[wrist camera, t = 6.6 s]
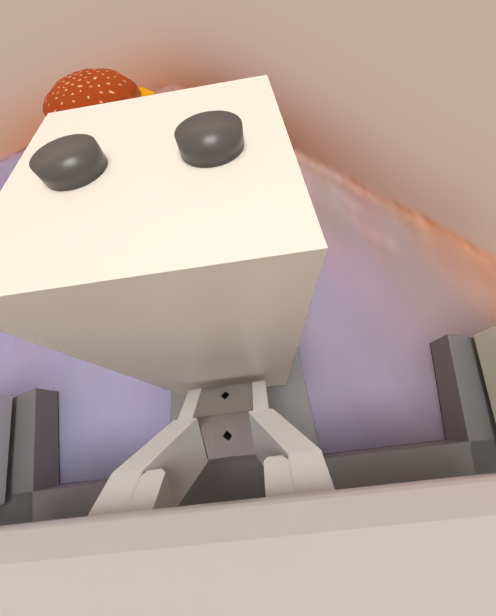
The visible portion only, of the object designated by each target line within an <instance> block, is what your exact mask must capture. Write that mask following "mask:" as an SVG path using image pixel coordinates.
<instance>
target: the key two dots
mask: <svg viewBox="0 0 496 616" xmlns="http://www.w3.org/2000/svg"><path fill="white" fill-rule="evenodd" d="M327 249H328V248H327V245H326V242H325V239H324V236H323V233H322V230H321V228H320V225H319V222H318V219H317V216H316V213H315V211H314V208H313V205H312V202H311V199H310V196H309V193H308V191H307V188H306V185H305V182H304V179H303V176H302V173H301V171H300V168H299V165H298V162H297V159H296V156H295V154H294V151H293V148H292V145H291V142H290V139H289V137H288V134H287V131H286V128H285V126H284V122H283V120H282V117H281V114H280V111H279V108H278V105H277V103H276V99H275V97H274V94H273V91H272V88H271V85H270V82H269V80H268V77H267V75H263V76H258V77H252V78H246V79H241V80H235V81H229V82H223V83H218V84H212V85H207V86H201V87H195V88H189V89H183V90H178V91H172V92H166V93H160V94H155V95H149V96H143V97H138V98H132V99H126V100H121V101H115V102H109V103H104V104H98V105H92V106H86V107H81V108H75V109H69V110H64V111H58V112H52V113H48V114H47V116H46V117H45V119H44V121H43V122H42V124H41V126H40V127H39V129H38V131H37V132H36V134H35V135H34V137H33V139H32V140H31V142H30V144H29V145H28V147H27V149H26V150H25V152H24V154H23V155H22V157H21V158H20V160H19V162H18V163H17V165H16V167H15V168H14V170H13V172H12V173H11V175H10V177H9V178H8V180H7V182H6V183H5V185H4V186H3V188H2V190H1V191H0V331H2V332H5V333H8V334H10V335H13V336H16V337H19V338H22V339H25V340H28V341H30V342H33V343H36V344H39V345H42V346H45V347H48V348H50V349H53V350H56V351H59V352H62V353H65V354H67V355H70V356H73V357H76V358H79V359H82V360H85V361H87V362H90V363H93V364H96V365H99V366H102V367H104V368H107V369H110V370H113V371H116V372H119V373H122V374H124V375H127V376H130V377H133V378H136V379H139V380H142V381H144V382H147V383H150V384H153V385H156V386H159V387H161V388H164V389H167V390H170V391H173V392H176V393H179V394H181V395H184V396H187V393H188V391H189V390H190V389H197V388H206V387H215V386H225V385H235V384H242V383H249V382H254V381H260V380H265V382H266V387H270V386H278V385H286V382H287V379H288V376H289V372H290V369H291V366H292V363H293V359H294V356H295V353H296V350H297V346H298V343H299V340H300V337H301V333H302V330H303V327H304V323H305V320H306V317H307V314H308V310H309V307H310V304H311V301H312V297H313V294H314V291H315V288H316V284H317V281H318V278H319V275H320V271H321V268H322V265H323V262H324V258H325V255H326V252H327Z"/></svg>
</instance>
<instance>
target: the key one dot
mask: <svg viewBox="0 0 496 616" xmlns="http://www.w3.org/2000/svg"><path fill="white" fill-rule="evenodd" d="M473 336H474V340H475V344H476V348H477V352H478V355H479V359H480V363H481V367H482V371H483V375H484V379H485V383H486V387H487V391H488V395H489V399H490V403H491V407H492V411H493V415H494V419H495V423H496V325H494V326H492V327H490V328H488V329H486V330H483V331H481V332H479V333H477V334H475V335H473Z"/></svg>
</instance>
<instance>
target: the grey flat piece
mask: <svg viewBox="0 0 496 616" xmlns="http://www.w3.org/2000/svg"><path fill="white" fill-rule="evenodd" d="M430 344H431V350H432V357H433V363H434V369H435V375H436V381H437V387H438V393H439V399H440V406H441V412H442V418H443V424H444V430H445V436H446V440H441V441H432V442H424V443H415V444H406V445H398V446H389V447H380V448H372V449H363V450H354V451H346V452H337V453H328V454H323V457H324V460H325V463H326V465H327V468H328V471H329V474H330V477H331V480H332V483H333V485H334V488H335V490H338V489H348V488H357V487H366V486H376V485H385V484H394V483H404V482H413V481H422V480H432V479H441V478H450V477H460V476H469V475H479V474H488V473H496V423H495V419H494V415H493V411H492V407H491V403H490V399H489V395H488V391H487V387H486V383H485V379H484V375H483V371H482V367H481V363H480V359H479V355H478V352H477V348H476V344H475V340H474V338H473V337H465V336H457V335H449V334H447V335H445V336H443V337H441V338H439V339H437V340H436V341H434V342H432V343H430ZM266 389H267V396H268V404H269V409H272V408H273V409H274V410H275V411H276V412H278V413H279V414H280V415H281V416H282V417H283V418H285V419H286V420H287V421H288V422H289V423H290V424H292V425H293V426H294V427H295V428H296V429H297V430H299V431H300V432H301V433H302V434H303V435H304V436H306V437H307V438H308V439H309V440H310V441H311V442H313V443H314V444H315V445H316V446H317V447H318V448H319V446H318V442H317V437H316V432H315V428H314V423H313V418H312V414H311V409H310V404H309V400H308V395H307V390H306V386H305V381H304V376H303V372H302V367H301V362H300V358H299V353H298V348H297V350H296V353H295V356H294V359H293V363H292V366H291V369H290V372H289V376H288V379H287V382H286V385H278V386H270V387H266ZM185 398H186V396H184V395H181V394H179V393H176V392H173V391H172V396H171V418H170V423H171V422H172V421H173V420H177V419H178V417H179V414H180V411H181V409H182V406H183V404H184V401H185ZM107 481H108V479H103V480H95V481H86V482H77V483H69V484H60V485H59V435H58V392H55V391H49V390H43V389H37V388H36V389H33V390H31V391H28V392H26V393H24V394H21V395H19V396H17V397H14V398H12V412H11V425H10V438H9V452H8V465H7V479H6V492H5V503H3V504H1V505H0V525H10V524H19V523H28V522H38V521H47V520H56V519H66V518H75V517H85V516H88V514H89V512H90V511H91V509H92V507H93V505H94V504H95V502H96V500H97V498H98V497H99V495H100V493H101V491H102V490H103V488H104V486H105V484H106V483H107ZM263 497H266V496H265V478H264V467H263V465H262V464H261V462H260V461H259V459H258V458H257V456H256V454H254V455H242V456H231V457H224V458H217V459H210V460H208V462H207V464H206V465H205V467H204V468H203V470H202V471H201V473H200V474H199V476H198V477H197V479H196V480H195V482H194V483H193V484H192V486H191V487H190V489H189V490H188V492H187V493H186V495H185V496H184V498H183V499H182V501H181V502H180V504H179V505H178V506H188V505H197V504H206V503H216V502H225V501H234V500H244V499H253V498H263Z"/></svg>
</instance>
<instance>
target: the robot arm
mask: <svg viewBox="0 0 496 616" xmlns="http://www.w3.org/2000/svg"><path fill="white" fill-rule="evenodd" d="M254 454H256V456H257V458H258V459H259V461H260V462H261V464H262V465H263V467H264V478H265V496H266V497H263V498H253V499H244V500H234V501H225V502H216V503H206V504H197V505H188V506H178V505H179V504H180V502H181V501H182V499H183V498H184V496H185V495H186V493H187V492H188V490H189V489H190V487H191V486H192V484H193V483H194V482H195V480H196V479H197V477H198V476H199V474H200V473H201V471H202V470H203V468H204V467H205V465H206V464H207V462H208V460H210V459H217V458H224V457H231V456H242V455H254ZM0 616H496V473H488V474H479V475H469V476H460V477H450V478H441V479H432V480H422V481H413V482H404V483H394V484H385V485H376V486H366V487H357V488H348V489H338V490H335V488H334V485H333V483H332V480H331V477H330V474H329V471H328V468H327V465H326V463H325V460H324V457H323V454H322V451H321V449H320V448H318V447H317V446H316V445H315V444H314V443H313V442H311V441H310V440H309V439H308V438H307V437H306V436H304V435H303V434H302V433H301V432H300V431H299V430H297V429H296V428H295V427H294V426H293V425H292V424H290V423H289V422H288V421H287V420H286V419H285V418H283V417H282V416H281V415H280V414H279V413H278V412H276V411H275V410H274V409H273V408H272V409H269V404H268V396H267V389H266V382H265V380H260V381H254V382H249V383H242V384H235V385H225V386H215V387H206V388H197V389H190V390H189V391H188V393H187V396H186V398H185V401H184V404H183V406H182V409H181V411H180V414H179V417H178V419H177V420H173V421H172V422H171V423H170V424H169V425H167V426H166V427H165V428H164V429H163V430H162V431H160V432H159V433H158V434H157V435H156V436H155V437H153V438H152V439H151V440H150V441H149V442H148V443H146V444H145V445H144V446H143V447H142V448H141V449H139V450H138V451H137V452H136V453H135V454H134V455H132V456H131V457H130V458H129V459H128V460H127V461H125V462H124V463H123V464H122V465H121V466H120V467H118V468H117V469H116V470H115V471H114V472H113V473H112V474H111V476H110V477H109V479H108V481H107V483H106V484H105V486H104V488H103V490H102V491H101V493H100V495H99V497H98V498H97V500H96V502H95V504H94V505H93V507H92V509H91V511H90V512H89V514H88V516H85V517H75V518H66V519H56V520H47V521H38V522H28V523H19V524H10V525H0Z"/></svg>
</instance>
